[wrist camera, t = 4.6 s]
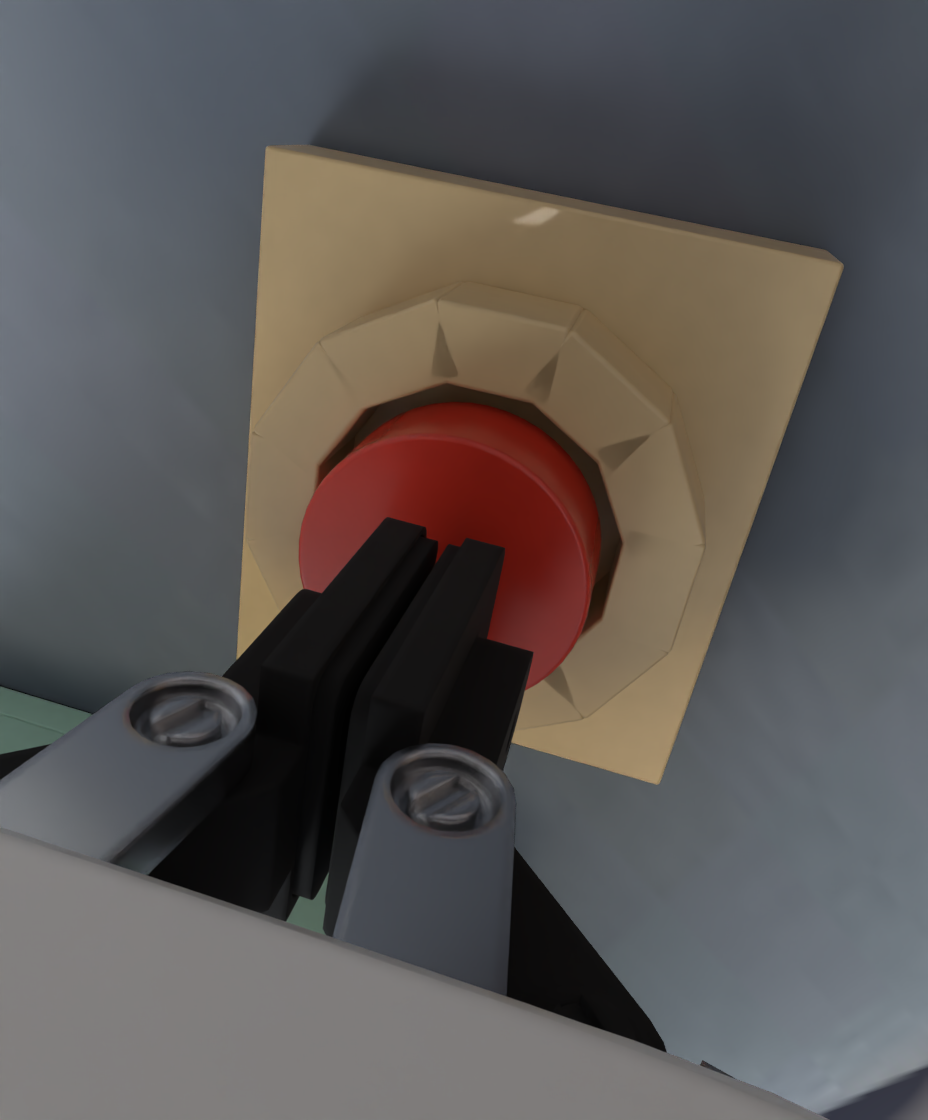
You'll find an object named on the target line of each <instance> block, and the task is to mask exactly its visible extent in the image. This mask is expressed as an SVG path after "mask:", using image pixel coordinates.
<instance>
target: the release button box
mask: <svg viewBox="0 0 928 1120" xmlns="http://www.w3.org/2000/svg"><path fill="white" fill-rule="evenodd" d="M843 269H844V266H843V264H842V263H841V262H840V261H839V260H838V259H836V258H835V257H834V256H833V255H832V254H831V253H829V252H828V251H827V250H823V249H819V248H814V247H809V246H804V245H799V244H794V243H789V242H784V241H779V240H774V239H769V238H764V237H760V236H755V235H750V234H745V233H740V232H735V231H730V230H725V229H720V228H715V227H710V226H705V225H701V224H696V223H691V222H686V221H681V220H676V219H671V218H666V217H661V216H656V215H651V214H646V213H642V212H637V211H632V210H627V209H622V208H617V207H612V206H607V205H602V204H597V203H592V202H588V201H583V200H578V199H573V198H568V197H563V196H558V195H553V194H548V193H543V192H538V191H533V190H529V189H524V188H519V187H514V186H509V185H504V184H499V183H494V182H489V181H484V180H479V179H474V178H470V177H465V176H460V175H455V174H450V173H445V172H440V171H435V170H430V169H425V168H420V167H415V166H411V165H406V164H401V163H396V162H391V161H386V160H381V159H376V158H371V157H366V156H361V155H357V154H352V153H347V152H342V151H337V150H332V149H327V148H322V147H317V146H312V145H270V146H267V147H266V151H265V168H264V186H263V203H262V221H261V238H260V256H259V273H258V291H257V308H256V326H255V343H254V361H253V378H252V396H251V413H250V431H249V448H248V466H247V484H246V501H245V519H244V536H243V554H242V571H241V589H240V606H239V624H238V641H237V659H238V658H239V657H240V656H241V655H242V654H243V653H244V651H245V650H246V649H247V648H248V647H249V646H250V645H251V644H252V643H253V641H254V640H255V639H256V638H257V637H258V636H259V635H260V634H261V633H262V631H263V630H264V629H265V628H266V627H267V626H268V625H269V624H270V623H271V621H272V620H273V619H274V618H275V617H276V616H277V615H278V614H279V613H280V611H281V610H282V609H283V608H284V607H285V606H286V605H287V604H288V603H289V601H290V600H291V599H292V598H293V597H294V596H295V595H296V594H297V593H298V592H299V591H300V590H302V589H303V585H302V581H301V577H300V568H299V537H300V531H301V524H302V521H303V518H304V515H305V512H306V508H307V506H308V504H309V502H310V500H311V498H312V496H313V494H314V492H315V490H316V489H317V488H318V486H319V485H320V483H321V482H322V480H323V479H324V478H325V477H326V476H327V475H328V473H329V472H330V471H331V470H332V469H333V468H334V467H335V466H336V465H337V464H338V463H339V462H340V461H341V460H343V459H344V458H345V457H346V456H347V455H348V454H349V453H350V452H351V451H352V450H353V449H355V448H356V447H357V446H358V445H359V444H360V443H361V442H362V441H363V440H364V439H365V438H366V437H368V436H369V435H370V434H371V433H372V432H373V431H374V430H376V429H377V428H378V427H380V426H381V425H382V424H383V423H385V422H386V421H388V420H390V419H392V418H393V417H395V416H397V415H399V414H401V413H403V412H406V411H409V410H411V409H414V408H416V407H421V406H425V405H429V404H433V403H444V402H470V403H476V404H482V405H488V406H492V407H495V408H498V409H501V410H505V411H508V412H510V413H512V414H514V415H517V416H519V417H521V418H523V419H525V420H527V421H528V422H530V423H532V424H533V425H535V426H537V427H538V428H540V429H541V430H543V431H544V432H545V433H546V434H548V435H549V436H550V437H551V438H553V439H554V440H555V441H556V442H557V443H558V444H559V445H560V446H561V447H562V448H563V449H564V450H565V451H566V452H567V453H568V454H569V455H570V457H571V458H572V459H573V461H574V462H575V463H576V465H577V466H578V467H579V469H580V470H581V472H582V474H583V476H584V477H585V479H586V481H587V483H588V485H589V487H590V489H591V492H592V494H593V497H594V499H595V502H596V506H597V510H598V514H599V518H600V526H601V554H600V560H599V565H598V570H597V574H596V579H595V583H594V588H593V592H592V597H591V602H590V606H589V611H588V615H587V619H586V621H585V624H584V627H583V630H582V633H581V635H580V637H579V638H578V640H577V642H576V644H575V646H574V648H573V649H572V651H571V652H570V653H569V655H568V656H567V657H566V659H565V660H564V661H563V662H562V663H561V664H560V665H559V666H558V667H557V668H556V669H555V670H554V671H553V672H552V673H551V674H550V675H549V676H547V677H546V678H545V679H543V680H542V681H541V682H539V683H538V684H536V685H535V686H533V687H531V688H529V689H527V690H525V692H524V696H523V700H522V704H521V708H520V712H519V716H518V719H517V723H516V727H515V731H514V734H513V738H512V741H511V743H514V744H517V745H521V746H524V747H528V748H531V749H535V750H538V751H542V752H545V753H549V754H552V755H556V756H559V757H563V758H566V759H569V760H573V761H576V762H580V763H583V764H587V765H590V766H594V767H597V768H601V769H604V770H608V771H611V772H615V773H618V774H622V775H625V776H629V777H632V778H635V779H639V780H642V781H646V782H649V783H653V784H659V783H660V782H661V779H662V776H663V773H664V770H665V768H666V765H667V762H668V759H669V756H670V754H671V751H672V748H673V745H674V742H675V740H676V737H677V734H678V731H679V728H680V726H681V723H682V720H683V717H684V714H685V712H686V709H687V706H688V703H689V700H690V698H691V695H692V692H693V689H694V686H695V684H696V681H697V678H698V675H699V672H700V670H701V667H702V664H703V661H704V658H705V656H706V653H707V650H708V647H709V644H710V642H711V639H712V636H713V633H714V630H715V628H716V625H717V622H718V619H719V616H720V614H721V611H722V608H723V605H724V602H725V600H726V597H727V594H728V591H729V588H730V585H731V583H732V580H733V577H734V574H735V571H736V569H737V566H738V563H739V560H740V557H741V555H742V552H743V549H744V546H745V543H746V541H747V538H748V535H749V532H750V529H751V527H752V524H753V521H754V518H755V515H756V513H757V510H758V507H759V504H760V501H761V499H762V496H763V493H764V490H765V487H766V485H767V482H768V479H769V476H770V473H771V471H772V468H773V465H774V462H775V459H776V457H777V454H778V451H779V448H780V445H781V443H782V440H783V437H784V434H785V431H786V429H787V426H788V423H789V420H790V417H791V415H792V412H793V409H794V406H795V403H796V400H797V398H798V395H799V392H800V389H801V386H802V384H803V381H804V378H805V375H806V372H807V370H808V367H809V364H810V361H811V358H812V356H813V353H814V350H815V347H816V344H817V342H818V339H819V336H820V333H821V330H822V328H823V325H824V322H825V319H826V316H827V314H828V311H829V308H830V305H831V302H832V300H833V297H834V294H835V291H836V288H837V286H838V283H839V280H840V277H841V274H842V272H843ZM237 659H236V660H237Z"/></svg>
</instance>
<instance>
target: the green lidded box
mask: <svg viewBox="0 0 928 1120" xmlns="http://www.w3.org/2000/svg"><path fill="white" fill-rule="evenodd" d="M91 715H93V714H90V713H87V712H83V711H80V710H77V709H73V708H70V707H67V706H63V705H60V704H57V703H54V702H50V701H47V700H44V699H40V698H37V697H34V696H30V695H27V694H24V693H20V692H17V691H14V690H11V689H7V688H4V687H1V686H0V754H4V753H9V752H14V751H19V750H24V749H28V748H33V747H38V746H43V745H48V744H52V743H53V742H55V741H56V740H57V739H59V738H60V737H62V736H63V735H64V734H66V733H67V732H69V731H70V730H71V729H73V728H74V727H76V726H77V725H79V724H80V723H81V722H83V721H84V720H86V719H87V718H88V717H90V716H91ZM328 874H329V872H328ZM328 874H327V876H326V878H325V880H324V882H323V884H322V886H321V888H320V890H319V892H318V894H317V895H316V897H315V898H314V899H313V900H310V899H307V898H304V897H301V896H300V897H299V898H298V900H297V902H296V904H295V906H294V908H293V910H292V912H291V913H290V915H289V917H288V919H287V921H286V922H288V923H291V924H294V925H297V926H300V927H303V928H306V929H309V930H312V931H315V932H318V933H321V934H323V935H326V934H325V932H324V930H323V922H324V914H325V907H326V904H325V896H326V888H327V881H328Z"/></svg>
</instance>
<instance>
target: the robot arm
mask: <svg viewBox="0 0 928 1120" xmlns="http://www.w3.org/2000/svg"><path fill="white" fill-rule="evenodd" d="M437 552H438V541H437V540H433V539H429V538H427V530H426V527H424V526H420V525H416V524H413V523H409V522H405V521H401V520H397V519H393V518H390V517H386V518H385V519H384V520H383V521H382V522H381V524H380V525H379V526H378V527H377V528H376V530H375V531H374V532H373V533H372V534H371V536H370V537H369V538H368V539H367V540H366V541H365V543H364V544H363V545H362V546H361V547H360V549H359V550H358V551H357V552H356V553H355V554H354V556H353V557H352V558H351V559H350V560H349V562H348V563H347V564H346V565H345V566H344V567H343V569H342V570H341V571H340V572H339V573H338V575H337V576H336V577H335V578H334V579H333V580H332V582H331V583H330V584H329V585H328V586H327V588H326V589H325V590H324V591H323V592H322V593H319V592H316V591H312V590H309V589H302V590H300V591H299V592H298V593H297V594H296V595H295V596H294V597H293V598H292V599H291V600H290V601H289V603H288V604H287V605H286V606H285V607H284V608H283V609H282V610H281V611H280V613H279V614H278V615H277V616H276V617H275V618H274V619H273V620H272V621H271V623H270V624H269V625H268V626H267V627H266V628H265V629H264V630H263V631H262V633H261V634H260V635H259V636H258V637H257V638H256V639H255V640H254V641H253V643H252V644H251V645H250V646H249V647H248V648H247V649H246V650H245V651H244V653H243V654H242V655H241V656H240V657H239V658H238V659H237V660H236V661H235V662H234V664H233V665H232V666H231V667H230V668H229V669H228V670H227V671H226V672H225V674H224V675H223V676H222V677H221V676H218V675H214V674H211V673H203V672H192V671H185V672H174V673H166V674H162V675H159V676H155V677H152V678H148V679H146V680H144V681H142V682H140V683H138V684H137V685H135V686H133V687H131V688H129V689H128V690H127V691H125V692H124V693H122V694H121V695H120V696H118V697H117V698H115V699H114V700H112V701H111V702H110V703H108V704H107V705H105V706H104V707H103V708H101V709H100V710H98V711H97V712H96V713H94V714H93V715H91V716H90V717H88V718H87V719H86V720H84V721H83V722H81V723H80V724H79V725H77V726H76V727H74V728H73V729H71V730H70V731H69V732H67V733H66V734H64V735H63V736H62V737H60V738H59V739H57V740H56V741H55V742H53V743H52V744H48V745H43V746H38V747H33V748H28V749H24V750H19V751H14V752H9V753H4V754H0V1120H829V1119H827V1118H824V1117H822V1116H820V1115H818V1114H816V1113H814V1112H812V1111H810V1110H807V1109H805V1108H803V1107H801V1106H799V1105H797V1104H795V1103H793V1102H790V1101H788V1100H786V1099H784V1098H782V1097H780V1096H778V1095H776V1094H773V1093H771V1092H769V1091H766V1090H763V1089H761V1088H758V1087H756V1086H753V1085H750V1084H748V1083H745V1082H742V1081H740V1080H737V1079H735V1078H733V1077H732V1076H730V1075H728V1074H726V1073H724V1072H723V1071H721V1070H719V1069H717V1068H716V1067H714V1066H712V1065H710V1064H708V1063H707V1062H705V1061H703V1060H702V1062H701V1064H700V1065H698V1064H695V1063H692V1062H690V1061H687V1060H684V1059H682V1058H679V1057H676V1056H674V1055H671V1054H669V1053H667V1052H666V1049H665V1045H664V1042H663V1041H662V1039H661V1037H660V1036H659V1034H658V1032H657V1031H656V1029H655V1027H654V1026H653V1024H652V1022H651V1021H650V1019H649V1018H648V1017H647V1015H646V1014H645V1013H644V1011H643V1010H642V1009H641V1008H640V1006H639V1005H638V1004H637V1003H636V1001H635V1000H634V999H633V997H632V996H631V995H630V994H629V992H628V991H627V990H626V989H625V987H624V986H623V985H622V983H621V982H620V981H619V980H618V978H617V977H616V976H615V975H614V973H613V972H612V971H611V969H610V968H609V967H608V966H607V964H606V963H605V962H604V961H603V959H602V958H601V957H600V955H599V954H598V953H597V952H596V950H595V949H594V948H593V947H592V945H591V944H590V943H589V941H588V940H587V939H586V938H585V936H584V935H583V934H582V933H581V931H580V930H579V929H578V927H577V926H576V925H575V924H574V922H573V921H572V920H571V919H570V917H569V916H568V915H567V913H566V912H565V911H564V910H563V908H562V907H561V906H560V905H559V903H558V902H557V901H556V899H555V898H554V897H553V896H552V894H551V893H550V892H549V891H548V889H547V888H546V887H545V885H544V884H543V883H542V882H541V880H540V879H539V878H538V877H537V875H536V874H535V873H534V871H533V870H532V869H531V868H530V866H529V865H528V864H527V863H526V861H525V860H524V859H523V857H522V856H521V855H520V854H519V852H518V851H517V850H516V849H515V847H514V839H515V820H516V799H515V793H514V788H513V786H512V785H511V783H510V781H509V780H508V778H507V776H506V775H505V773H504V772H503V768H504V765H505V762H506V759H507V755H508V752H509V748H510V745H511V741H512V738H513V734H514V731H515V727H516V723H517V719H518V716H519V712H520V708H521V704H522V700H523V696H524V692H525V688H526V684H527V680H528V676H529V672H530V667H531V663H532V659H533V653H534V652H532V651H529V650H525V649H522V648H518V647H514V646H511V645H507V644H504V643H500V642H496V641H493V640H489V639H487V636H488V632H489V627H490V622H491V618H492V613H493V609H494V604H495V599H496V595H497V590H498V585H499V581H500V576H501V572H502V567H503V562H504V557H505V548H504V547H500V546H497V545H493V544H489V543H485V542H481V541H478V540H474V539H470V538H466V539H465V540H464V542H463V543H462V545H461V547H459V546H456V545H452V544H448V545H447V547H446V548H445V550H444V551H443V553H442V555H441V556H440V558H439V559H438V561H437V563H436V558H437ZM328 872H329V874H328ZM327 874H328V881H327V888H326V896H325V904H326V907H325V914H324V922H323V930H324V932H325V934H326V935H323V934H321V933H318V932H315V931H312V930H309V929H306V928H303V927H300V926H297V925H294V924H291V923H288V922H286V921H287V919H288V917H289V915H290V913H291V912H292V910H293V908H294V906H295V904H296V902H297V900H298V898H299V897H300V896H301V897H304V898H307V899H310V900H313V899H314V898H315V897H316V895H317V894H318V892H319V890H320V888H321V886H322V884H323V882H324V880H325V878H326V876H327Z"/></svg>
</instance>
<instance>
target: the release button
mask: <svg viewBox="0 0 928 1120" xmlns="http://www.w3.org/2000/svg"><path fill="white" fill-rule="evenodd" d="M386 517H390V518H393V519H397V520H401V521H405V522H409V523H413V524H416V525H420V526H424V527H426V530H427V538H429V539H433V540H437V541H438V552H437V558H436V563H437V561H438V559H439V558H440V556H441V555H442V553H443V551H444V550H445V548H446V547H447V545H448V544H452V545H456V546H459V547H461V545H462V543H463V542H464V540H465V539H466V538H470V539H474V540H478V541H481V542H485V543H489V544H493V545H497V546H500V547H504V548H505V557H504V562H503V567H502V572H501V576H500V581H499V585H498V590H497V595H496V599H495V604H494V609H493V613H492V618H491V622H490V627H489V632H488V636H487V639H489V640H493V641H496V642H500V643H504V644H507V645H511V646H514V647H518V648H522V649H525V650H529V651H532V652H534V653H533V659H532V663H531V667H530V672H529V676H528V680H527V684H526V688H525V690H527V689H529V688H531V687H533V686H535V685H536V684H538V683H539V682H541V681H542V680H543V679H545V678H546V677H547V676H549V675H550V674H551V673H552V672H553V671H554V670H555V669H556V668H557V667H558V666H559V665H560V664H561V663H562V662H563V661H564V660H565V659H566V657H567V656H568V655H569V653H570V652H571V651H572V649H573V648H574V646H575V644H576V642H577V640H578V638H579V637H580V635H581V633H582V630H583V627H584V624H585V621H586V619H587V615H588V611H589V606H590V602H591V597H592V592H593V588H594V583H595V579H596V574H597V570H598V565H599V560H600V554H601V526H600V518H599V514H598V510H597V506H596V502H595V499H594V497H593V494H592V492H591V489H590V487H589V485H588V483H587V481H586V479H585V477H584V476H583V474H582V472H581V470H580V469H579V467H578V466H577V465H576V463H575V462H574V461H573V459H572V458H571V457H570V455H569V454H568V453H567V452H566V451H565V450H564V449H563V448H562V447H561V446H560V445H559V444H558V443H557V442H556V441H555V440H554V439H553V438H551V437H550V436H549V435H548V434H546V433H545V432H544V431H543V430H541V429H540V428H538V427H537V426H535V425H533V424H532V423H530V422H528V421H527V420H525V419H523V418H521V417H519V416H517V415H514V414H512V413H510V412H508V411H505V410H501V409H498V408H495V407H492V406H488V405H482V404H476V403H470V402H444V403H433V404H429V405H425V406H421V407H416V408H414V409H411V410H409V411H406V412H403V413H401V414H399V415H397V416H395V417H393V418H392V419H390V420H388V421H386V422H385V423H383V424H382V425H381V426H380V427H378V428H377V429H376V430H374V431H373V432H372V433H371V434H370V435H369V436H368V437H366V438H365V439H364V440H363V441H362V442H361V443H360V444H359V445H358V446H357V447H356V448H355V449H353V450H352V451H351V452H350V453H349V454H348V455H347V456H346V457H345V458H344V459H343V460H341V461H340V462H339V463H338V464H337V465H336V466H335V467H334V468H333V469H332V470H331V471H330V472H329V473H328V475H327V476H326V477H325V478H324V479H323V480H322V482H321V483H320V485H319V486H318V488H317V489H316V490H315V492H314V494H313V496H312V498H311V500H310V502H309V504H308V506H307V508H306V512H305V515H304V518H303V521H302V524H301V531H300V537H299V568H300V577H301V581H302V585H303V589H309V590H312V591H316V592H319V593H322V592H323V591H324V590H325V589H326V588H327V586H328V585H329V584H330V583H331V582H332V580H333V579H334V578H335V577H336V576H337V575H338V573H339V572H340V571H341V570H342V569H343V567H344V566H345V565H346V564H347V563H348V562H349V560H350V559H351V558H352V557H353V556H354V554H355V553H356V552H357V551H358V550H359V549H360V547H361V546H362V545H363V544H364V543H365V541H366V540H367V539H368V538H369V537H370V536H371V534H372V533H373V532H374V531H375V530H376V528H377V527H378V526H379V525H380V524H381V522H382V521H383V520H384V519H385V518H386Z"/></svg>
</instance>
